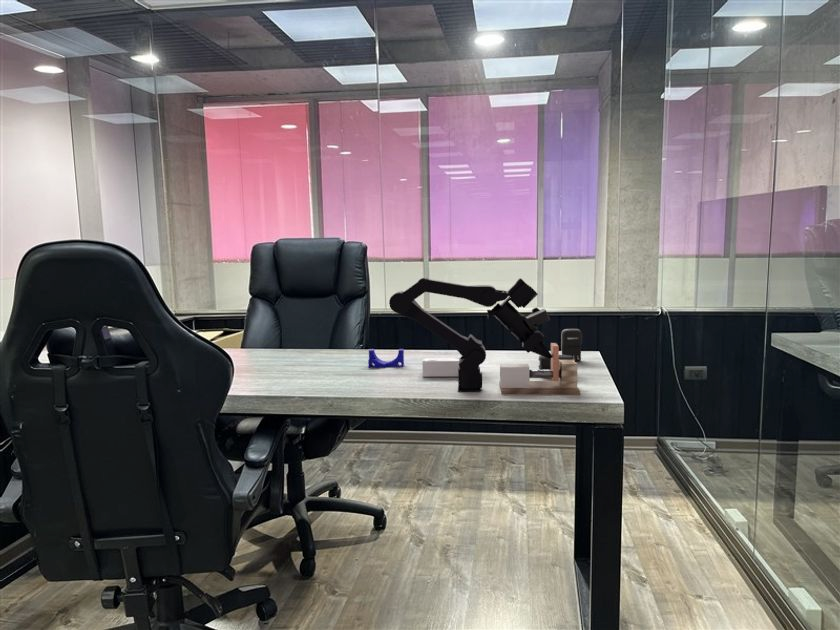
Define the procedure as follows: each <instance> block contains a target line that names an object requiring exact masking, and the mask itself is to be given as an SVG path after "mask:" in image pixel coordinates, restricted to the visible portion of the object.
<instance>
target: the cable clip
mask: <svg viewBox="0 0 840 630" xmlns="http://www.w3.org/2000/svg"><path fill="white" fill-rule="evenodd" d="M404 351H405V349H404V348H399V349H398V352H397V356H396V357H395V358H394V359H392V360H389V361H388V360H387V361H386V360H382V359H380V358H379V357H378V356H377V354H376V351H375V349H374V348H370V349H369V350H368V359H367V361H368V363H367V365H368V369H384V368H385V369H386V368H403V367H404V366H405V359H404V358H405V352H404Z"/></svg>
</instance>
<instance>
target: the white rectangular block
mask: <svg viewBox="0 0 840 630" xmlns="http://www.w3.org/2000/svg"><path fill="white" fill-rule="evenodd" d="M529 370H530V366H529V363H499V387H500V386H501V388H529V381H530V378H529Z"/></svg>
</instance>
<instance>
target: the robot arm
mask: <svg viewBox="0 0 840 630" xmlns="http://www.w3.org/2000/svg"><path fill="white" fill-rule="evenodd" d="M424 293H428V294H429V293H430V294H436V295H441V296H442V295H443V296H448V297H452V298H453V297H454V298H460V299H464V300H467V301H470V302H472V303H475V304H477V305H481V306H483V307H486V308H487V307H489V308H491V307H493V308H491V309H487V310H486V312H487V320H489V321H490V320H491V319H493V317H495V318H496V319H497V320H498V321H499V322H500V323H501V324H502V325H503V326H504V327H505V328H506V329H507V331H508V332H509V333H511V334H512V335H513V337H515V338H516V339H517V340H518V342H519V343H521V344H522V345H521V347H522V349H523V350H524V351H525V352H526V353H527V354H529V353H530V352H531V353H534V354H536V355H539V356H540V355H541V356H543V357H546V358H548V359H551V358H552V355H551V351H549V349H548V348H547V347H546V345H545V343H544V339H545V335H544V334H543V333H542V332H541V331H539V328H538V327H537V326H539V325H541V324H544V323H548V322H550V321H551V318H550V316H549V314H548V312H547V310H546V309H545V308H541V309H539V308H538V307H534V308H532V309H531V313H530V314H529V315H527V316H526V315H524V314H523V313H522V314H521V313H520V312H519V310H518V309H519V308H524V309H525V308H526V307H527V306H528V305H529V304H530V303H531V302H532V301H533V300H534V299H535V298H536V297H537V296H538V295H539V294H538V293H537V292H536V290H535V289H534V288H533V287H532V286H530V285H529V284H528V283H527V282H525V280H523V279H522V278H518V279H517V281H516V282H515V283H514V285H512V286H511V288H509V289H508V290H504V289H503V290H501V289H496V288H495V287H494V286H493V285H490V284H488V285H487V284H476V285H475V284H474V285H466V284H460V283H454V282H447V281H443V280H437V279H432V278H431V279H430V278H428V277H421V278H420V279H418V281H417V282H415V283H414V284H413V285H412V286H410V287H409V288H407V289H406V290H405V291H403V290H401V291H397V292H396V293H394V294H392V295H391V296H390V299H389V309H390V310H392V312H394V313H396V314H398V315H400V316H402V317H406V318H408V319H411V320H413V321H415V322H417V323H418V324H420V325H422V326H423V327H424V328H426V329H427V330H428V331H430V332H431V333H433V334H435V335H436V336H438V338H441V340H443V341H444V342H447V343H448V344H449V345H451V346H452V347H454V349H455V350H456V351H457V353H459V354H460V356H461V357H459V358H460V359H459V367H458V376H457V378H458V379H457V381H458V386H457V391H458V392H481V389H483V372H482V371H481V367H480V365H482V364H483V363H484V362H485V361H486V359H487V353H486V347H485V346H484V344H483V341H482V340H479V339H477V338H476V337H475V336H474V335H473V334H471V333H470V334H469V335H468V337H467V336H464V335H462V334H460V333H459V332H458V331H456V330H455V329H453V328H452V327H451V326H449V325H447V324H446V323H444V322H443V321H442V320H440V319H438V318H437V317H435V316H434V315H432V313H430V312H428V311H427V310H425V309H424V308H422V306H421V305H420V304H419V303H418V302H417V301H416V299H417V298H419V297H420V296H422V295H423V294H424ZM501 301H503V302H502V303H501V304H500V303H499V302H501ZM497 302H498V303H497ZM511 302H512V304H513V305H515V306H516V308H515V306H513V305H512V304H511ZM494 305H495V306H494Z"/></svg>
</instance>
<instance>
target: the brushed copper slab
mask: <svg viewBox="0 0 840 630" xmlns="http://www.w3.org/2000/svg"><path fill="white" fill-rule="evenodd" d="M559 348H560V346H559V345H558V343H557V342H550V354H551V355H552V358H551V370H540V369H529V379H551V381H559V378H561V370H559V355H560V353H559V352H560V350H559Z"/></svg>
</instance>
